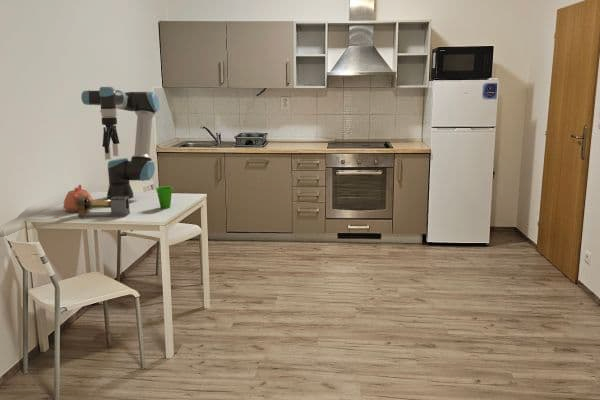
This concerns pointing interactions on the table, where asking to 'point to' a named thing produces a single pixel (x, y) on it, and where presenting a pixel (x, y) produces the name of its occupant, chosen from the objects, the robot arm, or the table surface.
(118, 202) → the sleeve
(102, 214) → the base board
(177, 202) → the table surface
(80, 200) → the socket
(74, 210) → the teapot
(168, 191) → the cup
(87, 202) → the tube
